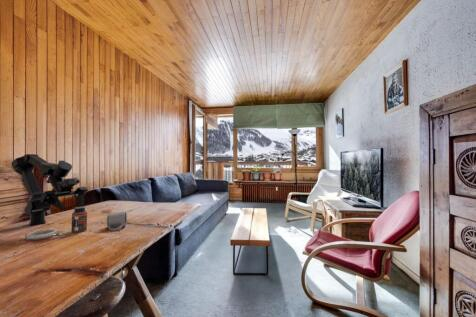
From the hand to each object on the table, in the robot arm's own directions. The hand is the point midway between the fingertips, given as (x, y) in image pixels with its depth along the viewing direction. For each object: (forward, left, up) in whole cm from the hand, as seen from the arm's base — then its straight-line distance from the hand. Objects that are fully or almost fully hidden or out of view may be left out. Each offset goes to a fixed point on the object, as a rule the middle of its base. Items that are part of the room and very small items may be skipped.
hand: (73, 207), depth 103 cm
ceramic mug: (+11, +17, -11) cm, 23 cm away
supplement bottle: (+4, +2, -11) cm, 12 cm away
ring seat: (+1, -11, -11) cm, 16 cm away
